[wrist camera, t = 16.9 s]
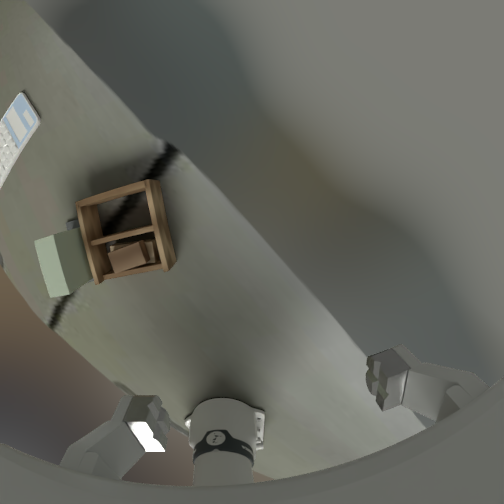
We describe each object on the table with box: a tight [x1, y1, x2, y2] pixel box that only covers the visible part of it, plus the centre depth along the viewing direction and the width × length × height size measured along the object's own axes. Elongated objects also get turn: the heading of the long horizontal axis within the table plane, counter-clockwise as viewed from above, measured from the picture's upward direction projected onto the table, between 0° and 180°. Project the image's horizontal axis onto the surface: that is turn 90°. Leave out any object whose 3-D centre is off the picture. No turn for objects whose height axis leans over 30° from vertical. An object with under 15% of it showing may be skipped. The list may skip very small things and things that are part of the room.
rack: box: [75, 179, 177, 285], centre depth 41 cm, size 14×14×6 cm
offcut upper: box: [108, 240, 151, 274], centre depth 41 cm, size 4×6×2 cm, turn 107°
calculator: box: [0, 92, 41, 189], centre depth 37 cm, size 13×20×2 cm, turn 132°
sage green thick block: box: [34, 227, 93, 298], centre depth 38 cm, size 4×9×12 cm, turn 10°
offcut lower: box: [110, 239, 159, 264], centre depth 43 cm, size 4×8×3 cm, turn 94°
